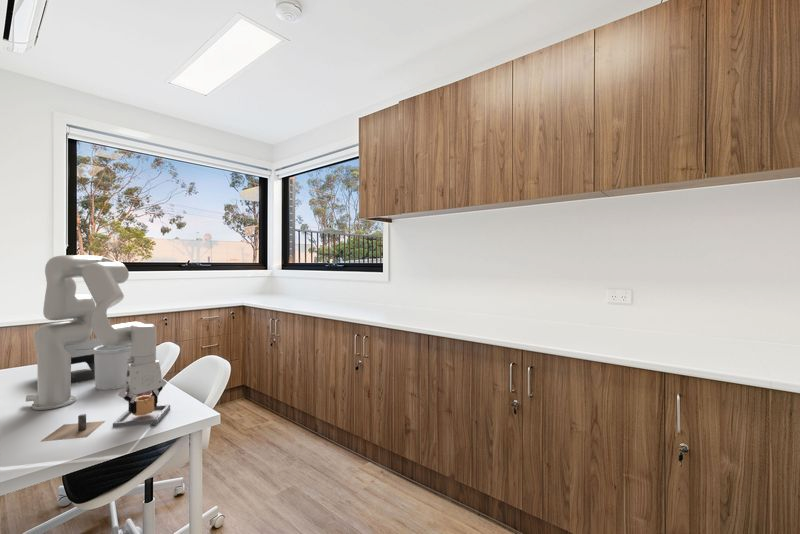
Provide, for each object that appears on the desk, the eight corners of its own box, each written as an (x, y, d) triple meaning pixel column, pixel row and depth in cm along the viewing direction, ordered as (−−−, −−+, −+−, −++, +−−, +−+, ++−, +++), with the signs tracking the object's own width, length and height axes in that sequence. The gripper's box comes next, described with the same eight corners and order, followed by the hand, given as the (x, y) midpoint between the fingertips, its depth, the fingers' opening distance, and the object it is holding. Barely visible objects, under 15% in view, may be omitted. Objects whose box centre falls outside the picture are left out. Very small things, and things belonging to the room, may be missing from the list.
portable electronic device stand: (107, 364, 197) (107, 336, 197) (124, 373, 183) (124, 342, 183) (41, 376, 176) (42, 344, 176) (55, 387, 162) (55, 352, 162)
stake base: (40, 444, 113) (40, 425, 113) (63, 426, 125) (63, 410, 125) (86, 439, 116) (86, 421, 116) (105, 423, 128) (105, 407, 128)
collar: (140, 417, 127) (140, 403, 127) (129, 413, 131) (129, 399, 131) (159, 411, 132) (159, 397, 132) (148, 407, 136) (148, 393, 136)
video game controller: (150, 402, 151) (157, 385, 154) (140, 401, 147) (148, 383, 150) (132, 399, 154) (140, 382, 157) (122, 398, 150) (130, 380, 153)
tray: (112, 429, 123) (112, 423, 123) (130, 412, 137) (130, 407, 137) (156, 425, 127) (156, 419, 127) (170, 409, 140) (170, 404, 140)
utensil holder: (127, 389, 161) (127, 349, 161) (86, 392, 157) (86, 351, 157) (140, 378, 175) (140, 341, 175) (103, 381, 171) (103, 343, 171)
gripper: (121, 366, 122) (120, 420, 123) (174, 355, 137) (174, 403, 138) (110, 363, 126) (109, 415, 126) (163, 352, 141) (162, 399, 141)
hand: (143, 409), depth 132 cm, fingers closed on collar, 6 cm apart
